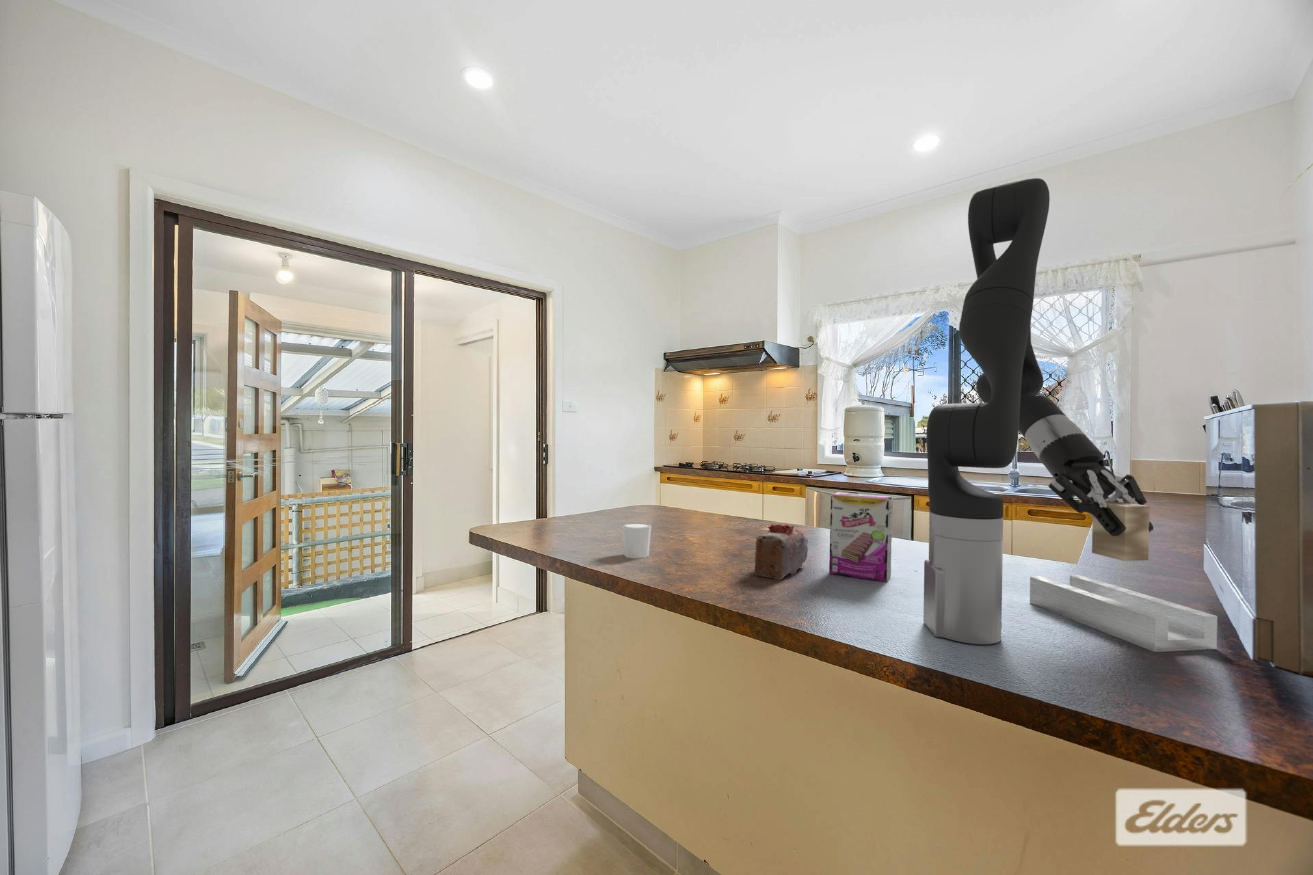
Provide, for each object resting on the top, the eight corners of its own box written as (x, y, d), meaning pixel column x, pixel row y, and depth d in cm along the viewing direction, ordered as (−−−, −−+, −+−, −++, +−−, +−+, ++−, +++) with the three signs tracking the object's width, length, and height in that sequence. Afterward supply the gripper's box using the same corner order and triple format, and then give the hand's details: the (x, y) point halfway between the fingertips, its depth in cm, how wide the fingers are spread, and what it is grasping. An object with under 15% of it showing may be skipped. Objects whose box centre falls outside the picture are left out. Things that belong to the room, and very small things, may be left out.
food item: (774, 561, 116) (774, 517, 116) (809, 567, 112) (810, 521, 112) (750, 576, 105) (751, 527, 105) (789, 582, 101) (790, 531, 100)
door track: (1154, 652, 70) (1155, 618, 69) (1029, 602, 89) (1030, 576, 89) (1216, 648, 71) (1217, 615, 71) (1079, 600, 91) (1080, 575, 90)
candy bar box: (828, 574, 106) (829, 493, 106) (834, 569, 110) (835, 491, 110) (887, 583, 100) (889, 498, 100) (891, 577, 104) (893, 495, 104)
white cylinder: (618, 558, 118) (618, 527, 118) (625, 551, 125) (625, 522, 125) (648, 559, 117) (648, 528, 117) (653, 552, 124) (653, 523, 124)
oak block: (1124, 561, 76) (1125, 506, 76) (1091, 552, 81) (1092, 501, 81) (1148, 560, 77) (1149, 506, 77) (1114, 552, 82) (1115, 501, 82)
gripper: (1037, 431, 85) (1109, 518, 73) (1114, 432, 87) (1196, 517, 75) (1011, 462, 91) (1073, 547, 79) (1084, 461, 92) (1156, 545, 81)
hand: (1133, 532), depth 77 cm, fingers closed on oak block, 4 cm apart
